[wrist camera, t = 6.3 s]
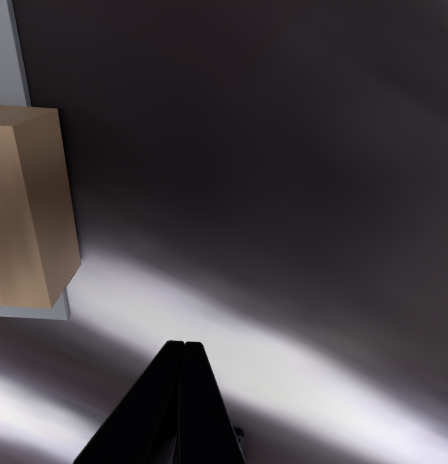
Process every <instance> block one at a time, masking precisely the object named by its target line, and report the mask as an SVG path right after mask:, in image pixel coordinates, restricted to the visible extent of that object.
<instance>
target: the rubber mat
mask: <svg viewBox="0 0 448 464" xmlns="http://www.w3.org/2000/svg"><path fill="white" fill-rule="evenodd" d="M0 105H10V106H26V107H32V106H31V101H30V95H29V90H28V84H27V79H26V74H25V68H24V63H23V57H22V52H21V46H20V41H19V36H18V30H17V25H16V19H15V14H14V9H13V3H12V0H0ZM0 316H5V317H22V318H39V319H56V320H68V319H69V317H70V312H69V306H68V301H67V295H66V290H65V289H64V291H63V292H62V294H61V295H60V297H59V298H58V300H57V301H56V303H55V304H54V306H53V307H52V309H47V308H30V307H13V306H0Z"/></svg>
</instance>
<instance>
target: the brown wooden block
mask: <svg viewBox="0 0 448 464" xmlns="http://www.w3.org/2000/svg"><path fill="white" fill-rule="evenodd" d="M80 265H81V260H80V253H79V247H78V240H77V234H76V227H75V220H74V214H73V207H72V201H71V194H70V188H69V181H68V175H67V168H66V162H65V155H64V149H63V142H62V135H61V129H60V122H59V116H58V109H57V108H42V107H26V106H10V105H0V306H13V307H30V308H47V309H52V307H53V306H54V304H55V303H56V301H57V300H58V298H59V297H60V295H61V294H62V292H63V291H64V289H65V288H66V286H67V285H68V283H69V282H70V280H71V279H72V277H73V276H74V274H75V273H76V271H77V270H78V268H79V267H80Z"/></svg>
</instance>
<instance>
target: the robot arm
mask: <svg viewBox="0 0 448 464" xmlns="http://www.w3.org/2000/svg"><path fill="white" fill-rule="evenodd" d="M243 445H244V433H243V432H242V431H239V430H234V429H233V426H232V424H231V421H230V418H229V415H228V413H227V410H226V407H225V404H224V401H223V399H222V396H221V393H220V390H219V388H218V385H217V382H216V379H215V377H214V374H213V371H212V368H211V366H210V363H209V360H208V357H207V355H206V352H205V349H204V346H203V344H202V343H201V342H190V341H187V342H186V343H184V342H183V341H172V340H169V341H167V342H166V343H165V344H164V346H163V347H162V348H161V350H160V351H159V352H158V353H157V355H156V356H155V357H154V359H153V360H152V361H151V362H150V364H149V365H148V366H147V368H146V369H145V370H144V371H143V373H142V374H141V375H140V377H139V378H138V379H137V380H136V382H135V383H134V384H133V386H132V387H131V388H130V389H129V391H128V392H127V393H126V395H125V396H124V397H123V398H122V400H121V401H120V402H119V404H118V405H117V406H116V407H115V409H114V410H113V411H112V413H111V414H110V415H109V416H108V418H107V419H106V420H105V422H104V423H103V424H102V425H101V427H100V428H99V429H98V431H97V432H96V433H95V434H94V436H93V437H92V438H91V440H90V441H89V442H88V443H87V445H86V446H85V447H84V449H83V450H82V451H81V452H80V454H79V455H78V456H77V458H76V459H75V460H74V462H73V464H246V462H245V459H244V457H243V454H242V452H243Z"/></svg>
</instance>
